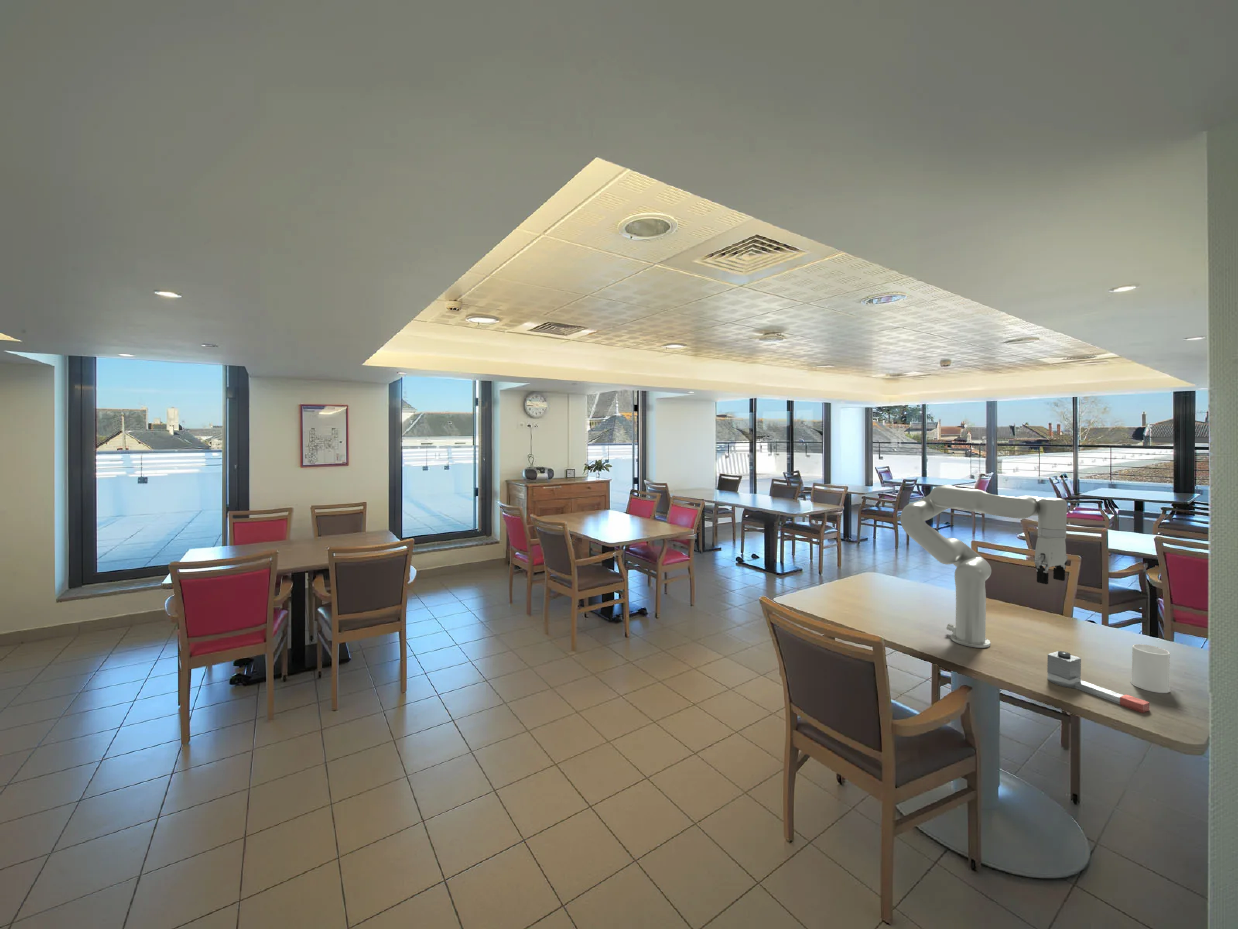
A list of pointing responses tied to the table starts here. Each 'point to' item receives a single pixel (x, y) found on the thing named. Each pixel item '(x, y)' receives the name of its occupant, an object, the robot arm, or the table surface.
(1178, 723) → the table surface
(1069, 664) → the cube with domed knob
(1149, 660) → the mug
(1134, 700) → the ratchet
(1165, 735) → the table surface
